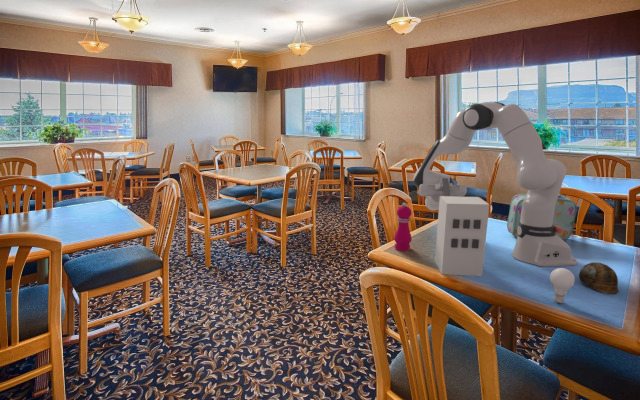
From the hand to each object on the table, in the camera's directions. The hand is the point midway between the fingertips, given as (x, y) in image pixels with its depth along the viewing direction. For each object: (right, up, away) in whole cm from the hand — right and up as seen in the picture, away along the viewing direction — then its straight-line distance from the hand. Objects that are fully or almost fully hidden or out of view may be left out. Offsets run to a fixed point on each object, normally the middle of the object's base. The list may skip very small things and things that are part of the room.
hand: (446, 184), depth 164 cm
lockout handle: (0, -8, -2) cm, 8 cm away
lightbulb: (+19, -38, -47) cm, 63 cm away
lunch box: (+47, -24, +13) cm, 55 cm away
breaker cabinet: (-3, -32, -21) cm, 38 cm away
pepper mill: (-19, -27, 0) cm, 33 cm away
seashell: (+38, -36, -36) cm, 64 cm away
